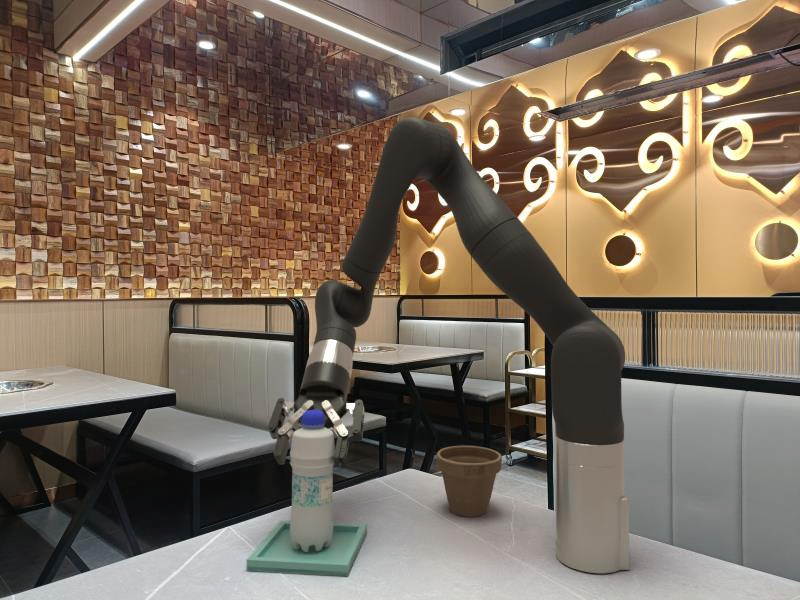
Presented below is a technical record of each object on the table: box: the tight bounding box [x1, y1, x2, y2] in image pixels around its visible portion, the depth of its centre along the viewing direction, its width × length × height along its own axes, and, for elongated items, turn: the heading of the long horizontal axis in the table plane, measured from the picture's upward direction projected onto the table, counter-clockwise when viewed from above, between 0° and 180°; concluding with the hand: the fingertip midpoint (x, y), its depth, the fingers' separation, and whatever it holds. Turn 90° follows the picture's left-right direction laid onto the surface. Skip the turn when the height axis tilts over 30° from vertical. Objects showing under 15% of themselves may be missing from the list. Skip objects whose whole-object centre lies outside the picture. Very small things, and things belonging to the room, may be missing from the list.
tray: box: [246, 520, 368, 577], centre depth 83 cm, size 14×14×2 cm
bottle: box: [289, 410, 336, 552], centre depth 83 cm, size 7×7×20 cm
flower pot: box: [436, 445, 503, 518], centre depth 99 cm, size 12×11×10 cm
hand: (308, 462), depth 82 cm, fingers open, 8 cm apart
